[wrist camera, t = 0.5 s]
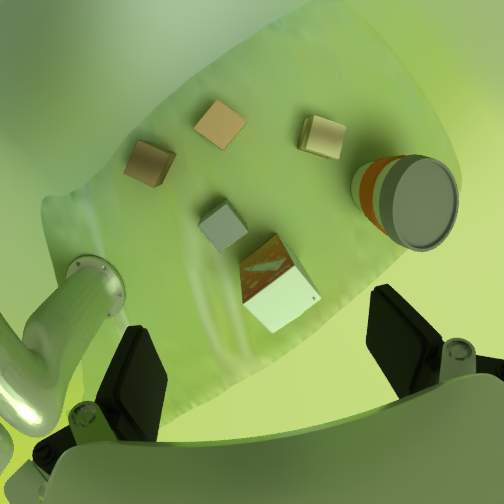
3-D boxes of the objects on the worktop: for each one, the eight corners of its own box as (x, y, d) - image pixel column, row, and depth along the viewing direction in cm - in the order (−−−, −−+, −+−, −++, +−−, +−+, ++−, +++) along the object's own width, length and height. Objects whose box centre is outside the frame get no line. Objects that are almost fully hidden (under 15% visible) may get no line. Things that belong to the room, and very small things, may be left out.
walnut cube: (162, 183, 39) (153, 187, 34) (134, 170, 38) (123, 173, 33) (176, 154, 38) (169, 154, 33) (148, 141, 37) (138, 140, 32)
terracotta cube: (224, 150, 38) (223, 150, 34) (197, 131, 37) (193, 128, 32) (245, 125, 37) (247, 121, 33) (218, 105, 36) (217, 99, 31)
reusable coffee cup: (368, 136, 39) (426, 134, 25) (413, 184, 42) (470, 200, 28) (326, 193, 42) (371, 215, 28) (375, 237, 45) (425, 271, 31)
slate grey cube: (220, 242, 43) (220, 253, 39) (200, 217, 42) (197, 226, 37) (246, 223, 42) (248, 232, 38) (226, 198, 41) (226, 203, 36)
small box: (276, 232, 43) (295, 263, 31) (299, 260, 45) (324, 298, 33) (237, 263, 45) (241, 305, 32) (261, 289, 47) (273, 335, 34)
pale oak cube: (326, 158, 40) (338, 159, 35) (296, 148, 39) (305, 148, 34) (334, 129, 38) (346, 126, 34) (304, 119, 37) (314, 114, 33)
